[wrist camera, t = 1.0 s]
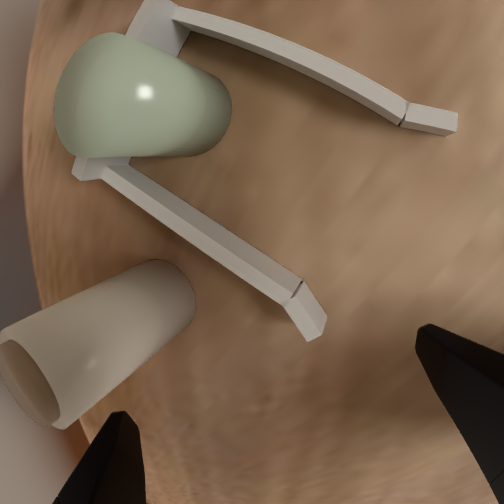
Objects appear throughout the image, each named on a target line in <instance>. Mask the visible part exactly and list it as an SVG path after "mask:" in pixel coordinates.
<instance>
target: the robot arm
mask: <svg viewBox="0 0 504 504" xmlns="http://www.w3.org/2000/svg"><path fill="white" fill-rule="evenodd" d="M415 350H416V353H417V355H418V357H419V359H420V361H421V363H422V365H423V367H424V369H425V371H426V374H427V376H428V378H429V380H430V382H431V384H432V386H433V388H434V390H435V392H436V393H437V395H438V397H439V398H440V400H441V401H442V403H443V405H444V406H445V408H446V410H447V411H448V413H449V414H450V416H451V418H452V419H453V421H454V423H455V424H456V426H457V428H458V429H459V431H460V433H461V434H462V436H463V438H464V440H465V441H466V443H467V445H468V447H469V448H470V450H471V452H472V454H473V455H474V457H475V459H476V461H477V463H478V464H479V466H480V468H481V470H482V472H483V474H484V475H485V477H486V479H487V481H488V483H489V485H490V487H491V489H492V491H493V493H494V495H495V497H496V499H497V501H498V503H499V504H504V354H501V353H499V352H497V351H494V350H492V349H490V348H487V347H485V346H483V345H480V344H478V343H476V342H473V341H471V340H469V339H466V338H464V337H462V336H459V335H457V334H454V333H452V332H450V331H447V330H445V329H443V328H440V327H438V326H436V325H433V324H426V325H424V326H422V327H420V328H419V329H418V331H417V338H416V344H415ZM52 504H146V491H145V472H144V464H143V457H142V449H141V441H140V433H139V428H138V426H137V425H136V423H135V422H134V421H133V420H132V418H131V417H130V416H129V415H128V413H127V412H125V411H115V412H112V413H111V414H110V416H109V417H108V419H107V420H106V422H105V423H104V425H103V426H102V428H101V429H100V431H99V432H98V434H97V435H96V437H95V438H94V440H93V441H92V443H91V444H90V446H89V448H88V449H87V450H86V452H85V454H84V455H83V457H82V458H81V460H80V461H79V463H78V464H77V466H76V467H75V469H74V470H73V472H72V474H71V475H70V477H69V478H68V480H67V481H66V483H65V484H64V486H63V488H62V489H61V491H60V492H59V494H58V497H56V498H55V500H54V502H53V503H52Z"/></svg>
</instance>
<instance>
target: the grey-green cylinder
mask: <svg viewBox="0 0 504 504" xmlns="http://www.w3.org/2000/svg"><path fill="white" fill-rule="evenodd" d="M231 113H232V104H231V98H230V95H229V92H228V90H227V88H226V87H225V85H224V84H223V83H222V82H221V81H220V80H219V79H218V78H217V77H215V76H214V75H212V74H210V73H208V72H206V71H204V70H202V69H200V68H198V67H196V66H194V65H191V64H189V63H187V62H185V61H183V60H181V59H179V58H177V57H174V56H172V55H170V54H168V53H165V52H163V51H161V50H159V49H156V48H154V47H152V46H149V45H147V44H144V43H142V42H140V41H137V40H135V39H132V38H130V37H127V36H125V35H122V34H119V33H114V32H109V33H103V34H100V35H97V36H95V37H93V38H91V39H90V40H88V41H87V42H86V43H84V44H83V45H82V46H81V47H80V48H79V49H78V50H77V51H76V52H75V53H74V55H73V56H72V57H71V59H70V60H69V62H68V63H67V65H66V67H65V69H64V71H63V73H62V75H61V77H60V80H59V83H58V86H57V90H56V95H55V101H54V122H55V127H56V131H57V134H58V137H59V139H60V141H61V143H62V145H63V146H64V147H65V149H66V150H67V151H68V152H70V153H71V154H73V155H74V156H76V157H79V158H103V157H139V156H185V157H191V156H197V155H201V154H203V153H205V152H207V151H209V150H210V149H212V148H213V147H214V146H215V145H216V144H217V143H218V142H219V141H220V140H221V139H222V137H223V136H224V134H225V133H226V131H227V128H228V126H229V123H230V119H231Z"/></svg>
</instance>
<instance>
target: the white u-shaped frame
mask: <svg viewBox="0 0 504 504" xmlns="http://www.w3.org/2000/svg"><path fill="white" fill-rule="evenodd" d="M191 31H194V32H197V33H201V34H204V35H207V36H210V37H213V38H216V39H219V40H222V41H225V42H228V43H230V44H233V45H236V46H239V47H241V48H244V49H247V50H249V51H252V52H254V53H257V54H259V55H262V56H264V57H267V58H269V59H272V60H274V61H276V62H279V63H281V64H283V65H285V66H288V67H290V68H292V69H294V70H297V71H299V72H301V73H303V74H305V75H307V76H309V77H311V78H313V79H315V80H317V81H319V82H321V83H323V84H325V85H327V86H329V87H331V88H333V89H335V90H337V91H339V92H341V93H343V94H345V95H346V96H348V97H350V98H352V99H354V100H355V101H357V102H359V103H361V104H362V105H364V106H366V107H368V108H369V109H371V110H373V111H374V112H376V113H378V114H379V115H381V116H383V117H384V118H386V119H388V120H389V121H391V122H392V123H394V124H395V125H397V126H398V124H399V123H400V121H401V123H400V127H402V128H408V129H413V130H418V131H423V132H428V133H432V134H437V135H441V136H448V135H451V134H453V133H456V132H457V121H458V113H455V112H451V111H447V110H443V109H438V108H434V107H429V106H424V105H420V104H415V103H409V102H408V101H406V100H404V99H403V98H401V97H400V96H398V95H396V94H395V93H393V92H391V91H390V90H388V89H386V88H385V87H383V86H381V85H379V84H378V83H376V82H374V81H372V80H370V79H369V78H367V77H365V76H363V75H361V74H359V73H357V72H356V71H354V70H352V69H350V68H348V67H346V66H344V65H342V64H340V63H338V62H336V61H334V60H332V59H330V58H327V57H325V56H323V55H321V54H319V53H317V52H314V51H312V50H310V49H308V48H305V47H303V46H301V45H298V44H296V43H293V42H291V41H288V40H286V39H283V38H281V37H278V36H276V35H273V34H270V33H268V32H265V31H262V30H259V29H256V28H254V27H251V26H248V25H245V24H242V23H238V22H235V21H232V20H229V19H225V18H222V17H219V16H215V15H211V14H208V13H204V12H200V11H196V10H192V9H188V8H184V7H179V6H178V5H176V4H175V3H173V2H172V1H170V0H144V2H143V3H142V5H141V7H140V9H139V10H138V12H137V14H136V16H135V18H134V19H133V21H132V23H131V25H130V27H129V29H128V31H127V32H126V34H125V36H127V37H130V38H132V39H135V40H137V41H140V42H142V43H144V44H147V45H149V46H152V47H154V48H156V49H159V50H161V51H163V52H165V53H168V54H170V55H172V56H174V57H177V55H178V53H179V51H180V50H181V48H182V46H183V44H184V42H185V40H186V39H187V37H188V35H189V33H190V32H191ZM130 159H131V157H103V158H79V157H76V159H75V162H74V165H73V169H72V172H71V174H73V175H74V176H75V177H76V178H78V179H79V180H80V181H85V180H94V179H102V180H104V181H105V182H107V183H108V184H109V185H111V186H112V187H113V188H115V189H116V190H117V191H119V192H120V193H122V194H123V195H124V196H126V197H127V198H128V199H130V200H131V201H133V202H134V203H135V204H137V205H138V206H140V207H141V208H142V209H144V210H145V211H146V212H148V213H149V214H151V215H152V216H153V217H155V218H156V219H158V220H159V221H160V222H162V223H163V224H165V225H166V226H167V227H169V228H170V229H172V230H173V231H174V232H176V233H177V234H179V235H180V236H182V237H183V238H184V239H186V240H187V241H189V242H190V243H191V244H193V245H194V246H196V247H197V248H199V249H200V250H201V251H203V252H204V253H206V254H207V255H209V256H210V257H212V258H213V259H214V260H216V261H217V262H219V263H220V264H222V265H223V266H225V267H226V268H227V269H229V270H230V271H232V272H233V273H235V274H236V275H238V276H239V277H240V278H242V279H243V280H245V281H246V282H248V283H249V284H251V285H252V286H254V287H255V288H257V289H258V290H260V291H261V292H262V293H264V294H265V295H267V296H268V297H270V298H271V299H273V300H274V301H276V302H277V303H279V304H280V305H282V306H283V307H284V309H285V310H286V312H287V313H288V315H289V316H290V317H291V319H292V320H293V322H294V323H295V325H296V326H297V328H298V329H299V331H300V332H301V333H302V335H303V336H304V338H305V339H306V341H307V342H309V341H311V340H313V339H315V338H317V337H319V336H321V335H322V333H323V330H324V327H325V324H326V321H327V317H328V316H327V315H326V313H325V312H324V310H323V309H322V307H321V306H320V304H319V303H318V301H317V300H316V298H315V297H314V295H313V294H312V292H311V291H310V289H309V288H308V286H307V285H306V283H305V282H302V283H300V282H301V280H302V279H301V278H299V277H298V276H296V275H295V274H293V273H292V272H290V271H289V270H287V269H286V268H284V267H283V266H281V265H280V264H278V263H277V262H275V261H274V260H272V259H271V258H269V257H268V256H266V255H265V254H263V253H262V252H260V251H259V250H257V249H256V248H254V247H253V246H251V245H250V244H248V243H247V242H245V241H244V240H242V239H241V238H239V237H238V236H236V235H235V234H233V233H231V232H230V231H228V230H227V229H225V228H224V227H222V226H221V225H219V224H218V223H216V222H215V221H213V220H212V219H210V218H209V217H207V216H206V215H204V214H203V213H201V212H200V211H198V210H197V209H195V208H194V207H192V206H191V205H189V204H188V203H186V202H185V201H183V200H182V199H180V198H179V197H177V196H175V195H174V194H172V193H171V192H169V191H168V190H166V189H165V188H163V187H162V186H160V185H159V184H157V183H156V182H154V181H153V180H151V179H150V178H148V177H147V176H145V175H144V174H142V173H141V172H139V171H137V170H136V169H134V168H133V167H131V166H130V165H128V164H129V161H130Z"/></svg>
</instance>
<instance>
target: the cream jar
mask: <svg viewBox="0 0 504 504" xmlns="http://www.w3.org/2000/svg"><path fill="white" fill-rule="evenodd" d="M195 310H196V301H195V296H194V292H193V289H192V287H191V285H190V283H189V281H188V280H187V278H186V277H185V275H184V274H183V273H182V272H181V271H180V270H179V269H178V268H177V267H175V266H174V265H172V264H171V263H169V262H166V261H163V260H159V259H153V260H148V261H146V262H144V263H141V264H139V265H137V266H135V267H132V268H130V269H128V270H126V271H124V272H121V273H119V274H117V275H115V276H113V277H111V278H108V279H106V280H104V281H102V282H100V283H98V284H95V285H93V286H91V287H89V288H87V289H85V290H83V291H80V292H78V293H76V294H74V295H72V296H70V297H68V298H66V299H64V300H62V301H59V302H57V303H55V304H53V305H51V306H49V307H47V308H45V309H43V310H41V311H39V312H37V313H35V314H33V315H31V316H29V317H27V318H25V319H23V320H21V321H18V322H17V323H15V324H12V325H11V326H8V327H6V328H5V329H3V330H2V331H1V333H0V374H1V377H2V379H3V381H4V383H5V385H6V386H7V388H8V390H9V392H10V393H11V395H12V397H13V398H14V399H15V401H16V402H17V404H18V405H19V406H20V407H21V409H22V410H23V411H24V412H25V413H26V414H27V415H28V416H29V417H30V418H31V419H32V420H33V421H34V422H35V423H37V424H38V425H40V426H42V427H45V428H47V427H49V426H50V425H52V426H54V427H56V428H59V429H65V428H67V427H68V426H69V425H71V424H72V423H73V422H74V421H75V420H77V419H78V418H79V417H80V416H82V415H83V414H84V413H85V412H86V411H88V410H89V409H90V408H91V407H92V406H94V405H95V404H96V403H97V402H98V401H100V400H101V399H102V398H103V397H104V396H106V395H107V394H108V393H109V392H110V391H112V390H113V389H114V388H115V387H116V386H118V385H119V384H120V383H121V382H122V381H124V380H125V379H126V378H127V377H128V376H129V375H131V374H132V373H133V372H134V371H135V370H137V369H138V368H139V367H140V366H141V365H143V364H144V363H145V362H146V361H147V360H148V359H150V358H151V357H152V356H153V355H154V354H156V353H157V352H158V351H159V350H160V349H161V348H163V347H164V346H165V345H166V344H167V343H169V342H170V341H171V340H172V339H173V338H174V337H176V336H177V335H178V334H179V333H180V332H181V331H183V330H184V329H185V328H186V327H187V326H188V325H189V324H190V323H191V321H192V320H193V318H194V315H195Z"/></svg>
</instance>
